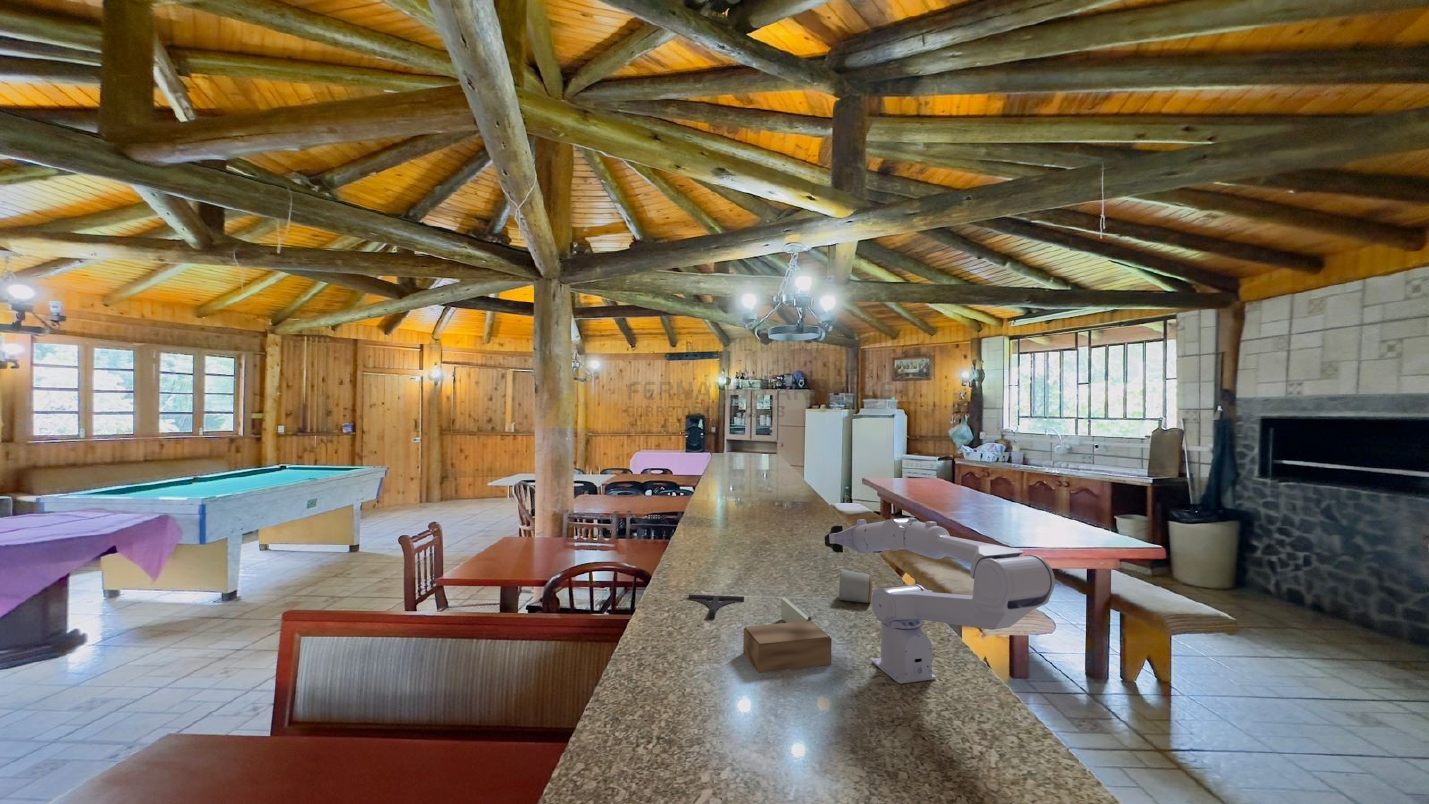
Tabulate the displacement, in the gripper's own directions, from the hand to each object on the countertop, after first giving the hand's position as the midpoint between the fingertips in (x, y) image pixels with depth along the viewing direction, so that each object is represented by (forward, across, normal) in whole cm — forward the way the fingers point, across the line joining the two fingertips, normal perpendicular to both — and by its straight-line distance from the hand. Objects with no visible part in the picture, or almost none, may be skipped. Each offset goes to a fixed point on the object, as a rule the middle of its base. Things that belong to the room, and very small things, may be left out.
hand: (840, 541), depth 127 cm
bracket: (+25, +22, +16) cm, 37 cm away
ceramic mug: (+21, -16, +14) cm, 29 cm away
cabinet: (-4, +17, +23) cm, 29 cm away
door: (+7, +9, +19) cm, 22 cm away
